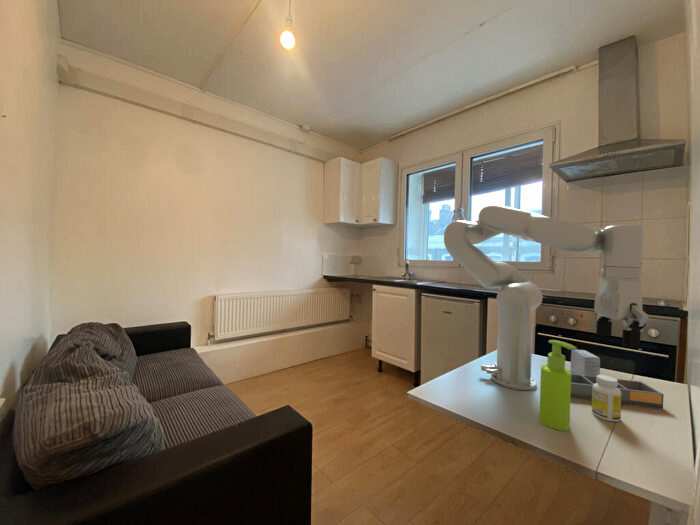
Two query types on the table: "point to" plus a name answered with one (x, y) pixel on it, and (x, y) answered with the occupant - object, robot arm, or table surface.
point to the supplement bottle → (606, 399)
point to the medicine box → (584, 363)
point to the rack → (629, 390)
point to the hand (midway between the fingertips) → (616, 340)
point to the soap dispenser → (555, 389)
